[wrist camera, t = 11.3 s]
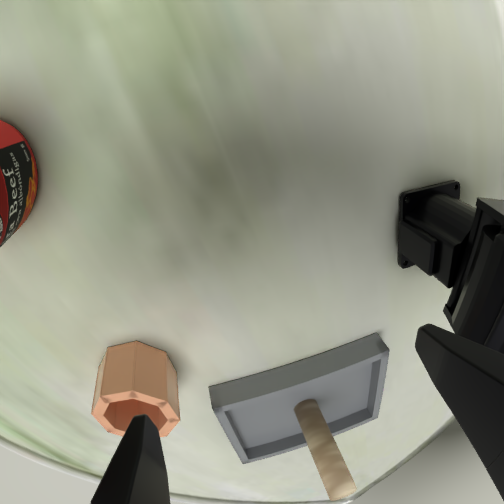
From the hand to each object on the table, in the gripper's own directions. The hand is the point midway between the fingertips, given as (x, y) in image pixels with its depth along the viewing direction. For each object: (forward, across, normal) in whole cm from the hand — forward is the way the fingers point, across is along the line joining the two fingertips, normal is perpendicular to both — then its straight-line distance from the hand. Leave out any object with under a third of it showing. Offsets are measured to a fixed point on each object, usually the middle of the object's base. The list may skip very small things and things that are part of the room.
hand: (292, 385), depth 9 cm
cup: (+13, +10, +10) cm, 19 cm away
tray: (+13, -3, +20) cm, 24 cm away
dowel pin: (+12, -3, +20) cm, 24 cm away
